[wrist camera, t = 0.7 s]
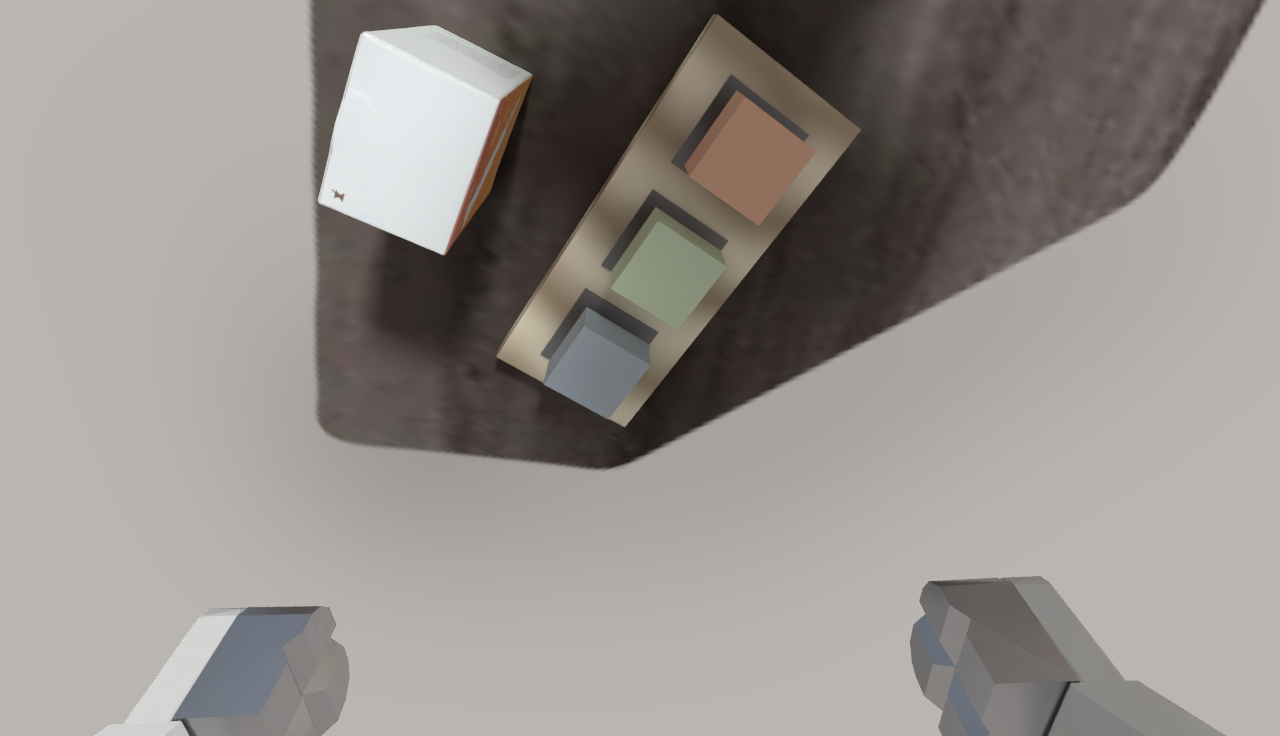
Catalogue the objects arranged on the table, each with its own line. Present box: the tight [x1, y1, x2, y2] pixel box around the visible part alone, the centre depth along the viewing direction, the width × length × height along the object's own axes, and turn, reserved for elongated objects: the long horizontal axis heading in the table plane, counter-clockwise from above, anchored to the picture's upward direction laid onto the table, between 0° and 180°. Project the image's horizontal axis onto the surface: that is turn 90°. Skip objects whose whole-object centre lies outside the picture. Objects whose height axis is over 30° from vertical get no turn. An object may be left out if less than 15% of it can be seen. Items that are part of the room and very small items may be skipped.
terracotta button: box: [685, 90, 816, 226], centre depth 38 cm, size 5×5×3 cm
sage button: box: [611, 207, 727, 330], centre depth 41 cm, size 5×5×3 cm
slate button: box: [544, 307, 651, 419], centre depth 44 cm, size 5×5×3 cm
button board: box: [496, 14, 861, 427], centre depth 44 cm, size 26×11×2 cm, turn 146°
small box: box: [318, 25, 533, 255], centre depth 35 cm, size 8×6×13 cm
